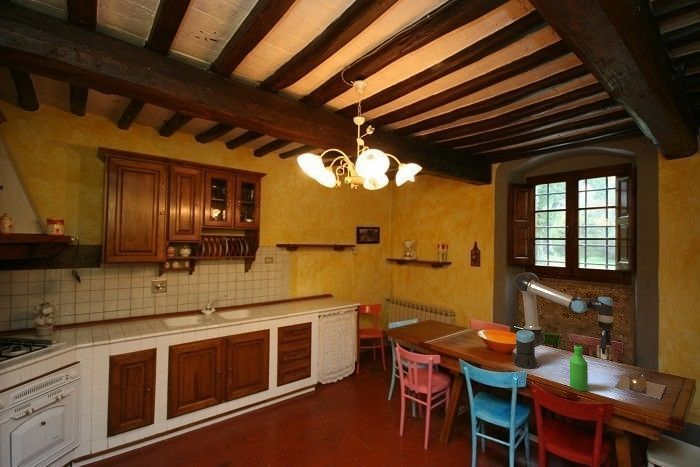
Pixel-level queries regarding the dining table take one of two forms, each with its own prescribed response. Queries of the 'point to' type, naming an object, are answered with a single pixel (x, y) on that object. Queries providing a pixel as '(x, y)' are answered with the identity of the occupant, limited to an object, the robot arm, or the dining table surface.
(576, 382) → the bottle
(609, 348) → the planet gear
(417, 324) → the dining table surface
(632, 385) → the carrier
